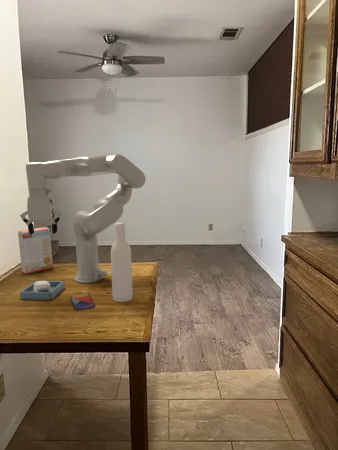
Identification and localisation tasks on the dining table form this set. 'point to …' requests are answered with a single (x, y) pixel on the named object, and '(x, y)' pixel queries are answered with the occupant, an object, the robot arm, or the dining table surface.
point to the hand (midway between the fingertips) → (43, 233)
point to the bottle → (121, 266)
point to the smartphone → (82, 301)
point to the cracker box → (35, 250)
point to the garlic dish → (42, 295)
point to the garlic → (42, 286)
